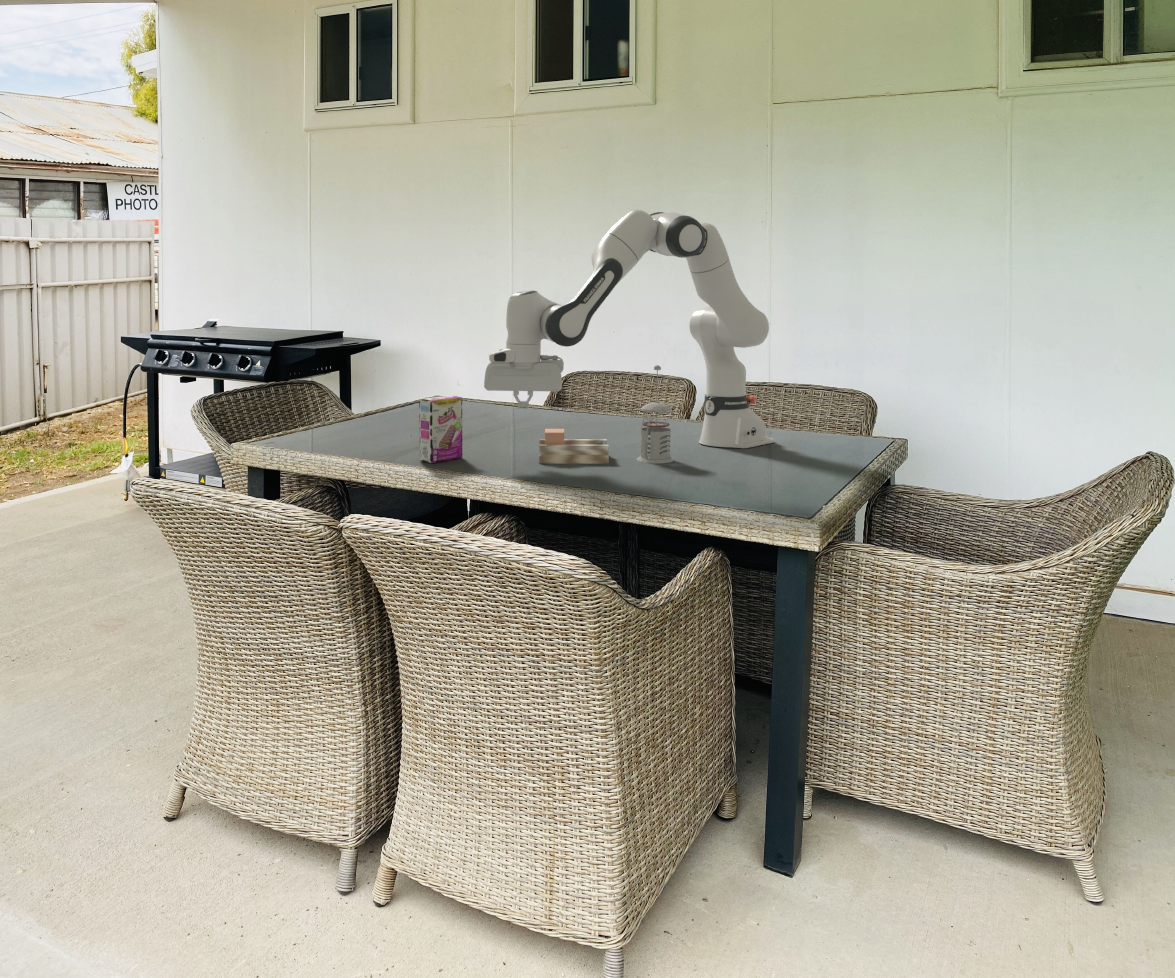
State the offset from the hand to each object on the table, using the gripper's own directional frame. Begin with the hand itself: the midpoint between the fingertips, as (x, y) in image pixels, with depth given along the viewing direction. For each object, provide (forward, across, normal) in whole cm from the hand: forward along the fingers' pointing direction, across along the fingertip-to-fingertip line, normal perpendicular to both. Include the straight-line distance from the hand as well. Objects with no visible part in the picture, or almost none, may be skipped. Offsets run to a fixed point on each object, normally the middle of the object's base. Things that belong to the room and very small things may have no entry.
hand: (523, 408), depth 254 cm
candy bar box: (+14, +21, +1) cm, 25 cm away
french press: (+13, -34, +1) cm, 37 cm away
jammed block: (+11, -8, 0) cm, 14 cm away
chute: (+13, -13, 0) cm, 19 cm away
